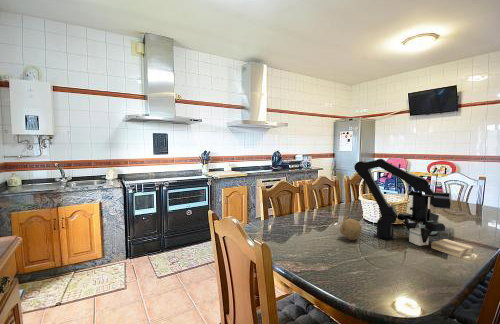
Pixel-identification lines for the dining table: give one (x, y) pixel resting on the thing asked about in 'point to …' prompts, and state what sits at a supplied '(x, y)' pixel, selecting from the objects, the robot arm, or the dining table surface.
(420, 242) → the white lidded box
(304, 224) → the dining table surface
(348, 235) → the natural sponge
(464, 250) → the oak block
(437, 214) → the cup
